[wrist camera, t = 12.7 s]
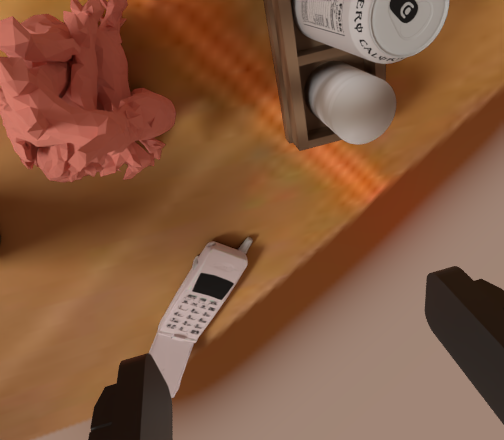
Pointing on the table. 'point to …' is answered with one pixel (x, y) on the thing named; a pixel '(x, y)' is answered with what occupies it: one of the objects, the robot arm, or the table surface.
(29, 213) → the table surface
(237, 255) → the mobile phone
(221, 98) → the table surface
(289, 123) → the rack
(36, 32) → the anatomical model
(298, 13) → the energy drink can
